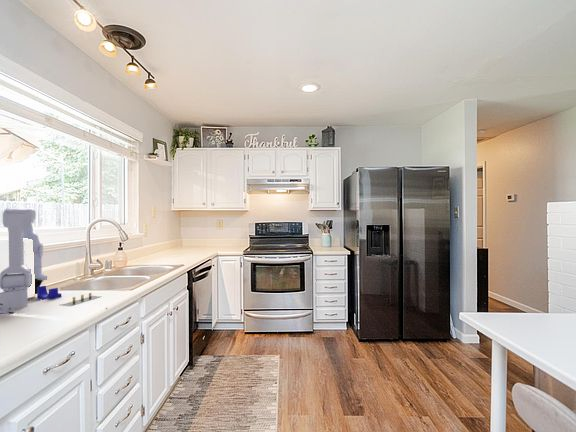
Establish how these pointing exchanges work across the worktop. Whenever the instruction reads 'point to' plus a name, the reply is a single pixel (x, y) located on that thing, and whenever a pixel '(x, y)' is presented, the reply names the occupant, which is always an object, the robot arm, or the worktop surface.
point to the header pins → (82, 297)
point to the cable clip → (44, 295)
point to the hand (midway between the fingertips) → (34, 294)
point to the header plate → (80, 301)
